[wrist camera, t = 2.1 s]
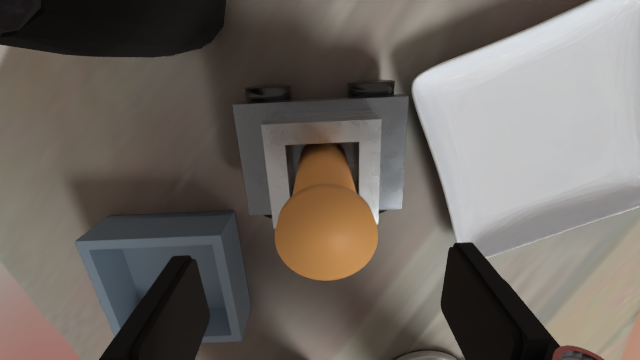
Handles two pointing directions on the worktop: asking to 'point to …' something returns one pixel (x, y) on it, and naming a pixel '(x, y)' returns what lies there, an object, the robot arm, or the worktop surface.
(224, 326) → the tray
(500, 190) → the salad plate
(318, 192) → the pin
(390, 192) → the trolley
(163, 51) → the portable speaker
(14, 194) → the worktop surface
